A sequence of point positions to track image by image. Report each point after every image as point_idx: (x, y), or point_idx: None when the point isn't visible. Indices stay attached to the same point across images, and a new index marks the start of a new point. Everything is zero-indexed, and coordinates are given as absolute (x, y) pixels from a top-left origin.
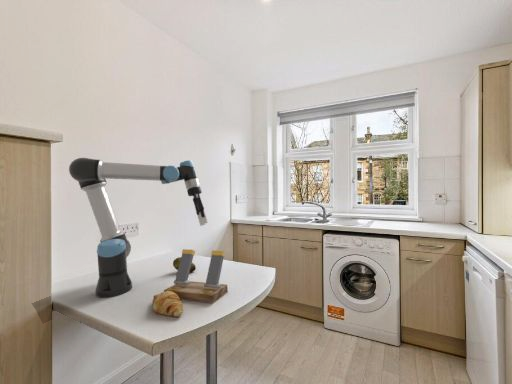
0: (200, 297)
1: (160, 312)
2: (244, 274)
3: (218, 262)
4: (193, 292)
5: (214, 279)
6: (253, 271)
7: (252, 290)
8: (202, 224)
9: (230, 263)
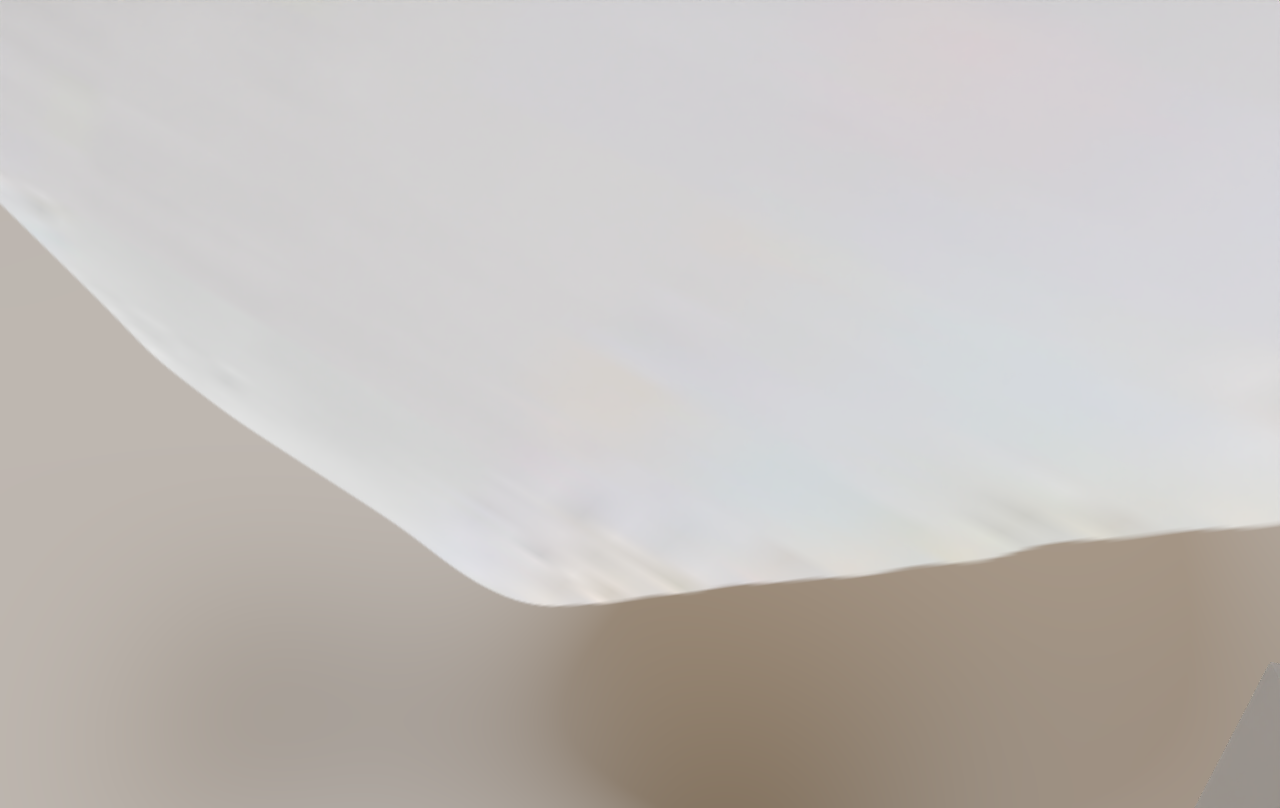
0: None
1: None
2: (471, 334)
3: None
4: None
5: None
6: (523, 454)
7: (21, 153)
8: (1229, 802)
9: (1085, 468)
